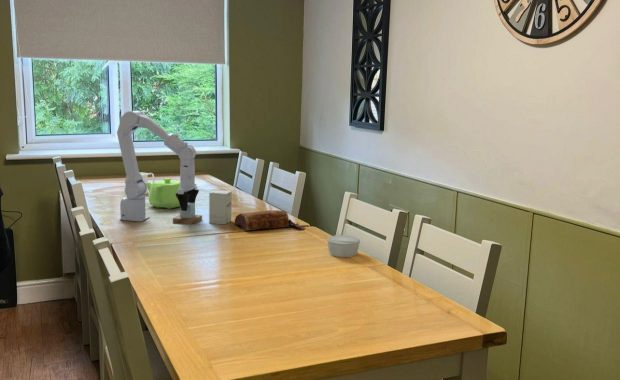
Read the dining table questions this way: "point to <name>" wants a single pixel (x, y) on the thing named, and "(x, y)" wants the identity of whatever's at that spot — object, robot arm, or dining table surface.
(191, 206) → the pale grey block
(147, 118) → the robot arm
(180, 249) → the dining table surface
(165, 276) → the dining table surface
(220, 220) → the supplement box
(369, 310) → the dining table surface
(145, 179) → the cup
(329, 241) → the ramekin
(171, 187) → the teapot
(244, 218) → the cured meat
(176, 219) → the walnut slab
